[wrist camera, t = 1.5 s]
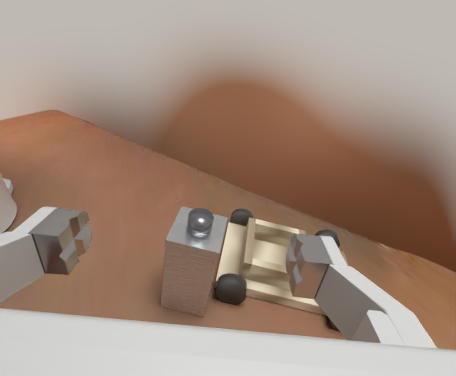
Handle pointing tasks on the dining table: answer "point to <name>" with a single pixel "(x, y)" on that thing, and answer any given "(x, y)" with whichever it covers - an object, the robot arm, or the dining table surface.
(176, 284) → the silver tall block
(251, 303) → the dining table surface
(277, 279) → the chassis
